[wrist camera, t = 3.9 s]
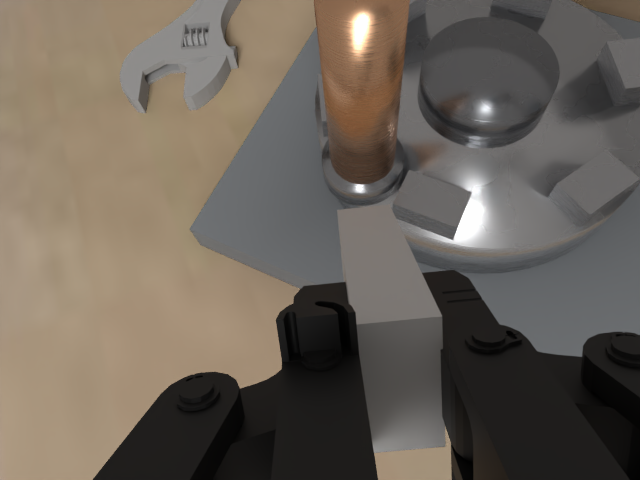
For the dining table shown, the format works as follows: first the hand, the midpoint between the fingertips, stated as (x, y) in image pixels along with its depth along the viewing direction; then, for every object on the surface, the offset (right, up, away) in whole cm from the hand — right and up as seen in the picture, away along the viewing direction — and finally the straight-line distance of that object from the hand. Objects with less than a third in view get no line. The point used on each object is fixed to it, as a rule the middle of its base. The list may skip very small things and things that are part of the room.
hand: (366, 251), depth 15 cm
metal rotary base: (+7, +6, +13) cm, 16 cm away
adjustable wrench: (-7, +18, +22) cm, 30 cm away
